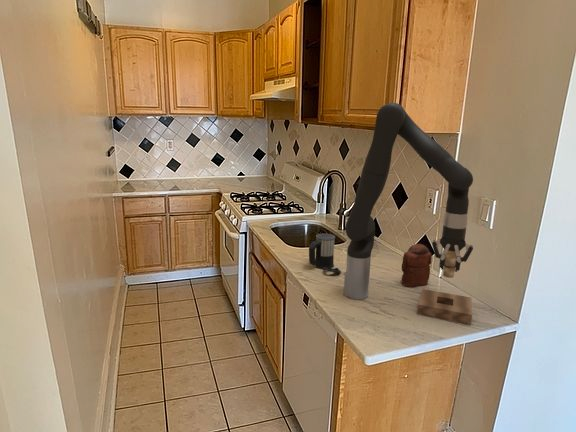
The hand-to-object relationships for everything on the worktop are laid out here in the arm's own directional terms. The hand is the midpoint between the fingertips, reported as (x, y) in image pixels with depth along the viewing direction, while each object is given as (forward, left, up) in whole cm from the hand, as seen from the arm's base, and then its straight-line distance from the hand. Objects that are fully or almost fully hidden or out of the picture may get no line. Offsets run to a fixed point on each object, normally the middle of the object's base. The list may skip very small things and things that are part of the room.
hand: (449, 269), depth 140 cm
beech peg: (0, 0, -2) cm, 2 cm away
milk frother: (-52, +19, -17) cm, 58 cm away
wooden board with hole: (0, 0, -17) cm, 17 cm away
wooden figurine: (-13, +19, -17) cm, 29 cm away
